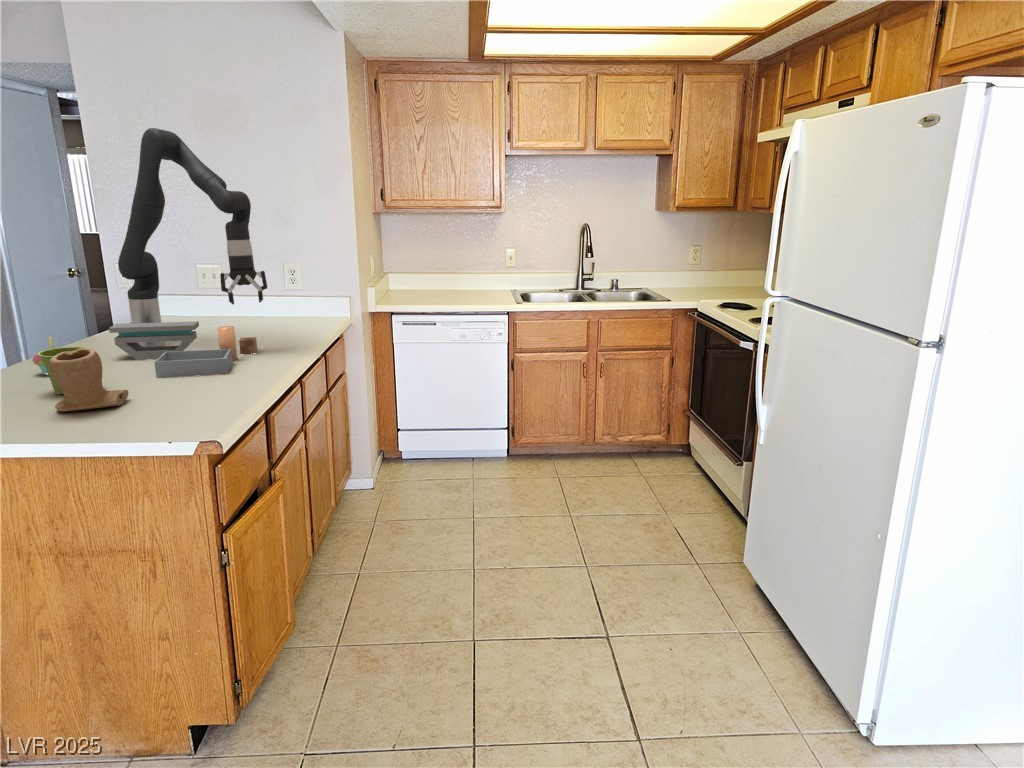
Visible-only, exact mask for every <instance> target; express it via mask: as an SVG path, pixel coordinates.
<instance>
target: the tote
mask: <svg viewBox="0 0 1024 768" xmlns="http://www.w3.org/2000/svg"><path fill="white" fill-rule="evenodd" d="M232 366H233V361H232V351H231V349H220V348H219V349H203V350H202V349H200V350H184V351H171V352H164V353H163V354H162V355H161V356H160V357H159V358H158V359H155V361H154V370H155V375H156V376H155V377H156V378H157V379H158V378H161V379H162V378H178V376H181V377H197V376H196V375H200V376H215V375H216V374H219V375H228V373H229V371H230V369H231V368H232ZM216 376H217V375H216Z"/></svg>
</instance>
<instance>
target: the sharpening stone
mask: <svg viewBox="0 0 1024 768" xmlns="http://www.w3.org/2000/svg"><path fill="white" fill-rule="evenodd" d="M199 326H200V323H199V320H198V321H196V320H195V321H173V322H172V321H169V322H167V321H166V322H165V321H164V322H163V321H162V322H161V323H131V324H130V323H115V324H113V325H111V326H110V327H108V332H109V333H110V334H115V333H116V334H118V335H117V336H115V337H114V338H113V339H114V344H115V346H117V348H119V349H120V350H122V351H124V352H125V353H126V354H128V355H129V356H130V357H132V358H133V359H134V360H136V361H147V360H146V359H153V360H157V359H158V358H159V357H160V356H161V355H162V354H163V353H164V352H171V351H186V349H187V348H188V347H189V346H190V345H191V344H192V343H193V342H194V341H195V340H196V339H197V338H198V337H197V336H198V335H197V331H196V330H197V329H198V327H199ZM160 341H164V342H180V344H179V345H163V346H153V347H142V346H141V345H139V344H138V343H137V342H160Z"/></svg>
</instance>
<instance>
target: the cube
mask: <svg viewBox="0 0 1024 768" xmlns="http://www.w3.org/2000/svg"><path fill="white" fill-rule="evenodd" d="M238 344H239V355H240V354H244V355H254V354H253V353H256V352H258V344H257V337H256V336H254V337H249V336H248V337H240V338H239V340H238ZM251 353H252V354H251ZM256 354H257V353H256Z"/></svg>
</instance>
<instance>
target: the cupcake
mask: <svg viewBox="0 0 1024 768" xmlns="http://www.w3.org/2000/svg"><path fill="white" fill-rule="evenodd" d="M53 345H54V344H53V337H52V334H50V336H49V349H54V347H53ZM31 362H32V363H33V364H34V365H36V366H37V367H38V368H39V369H40V370H41V372H42V374H43V373H48V372H47V370H46V367H45V364H43V361H42V359H41V357H40V356H38V353H37V354H36V355H34V356H33V357H32V361H31Z"/></svg>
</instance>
